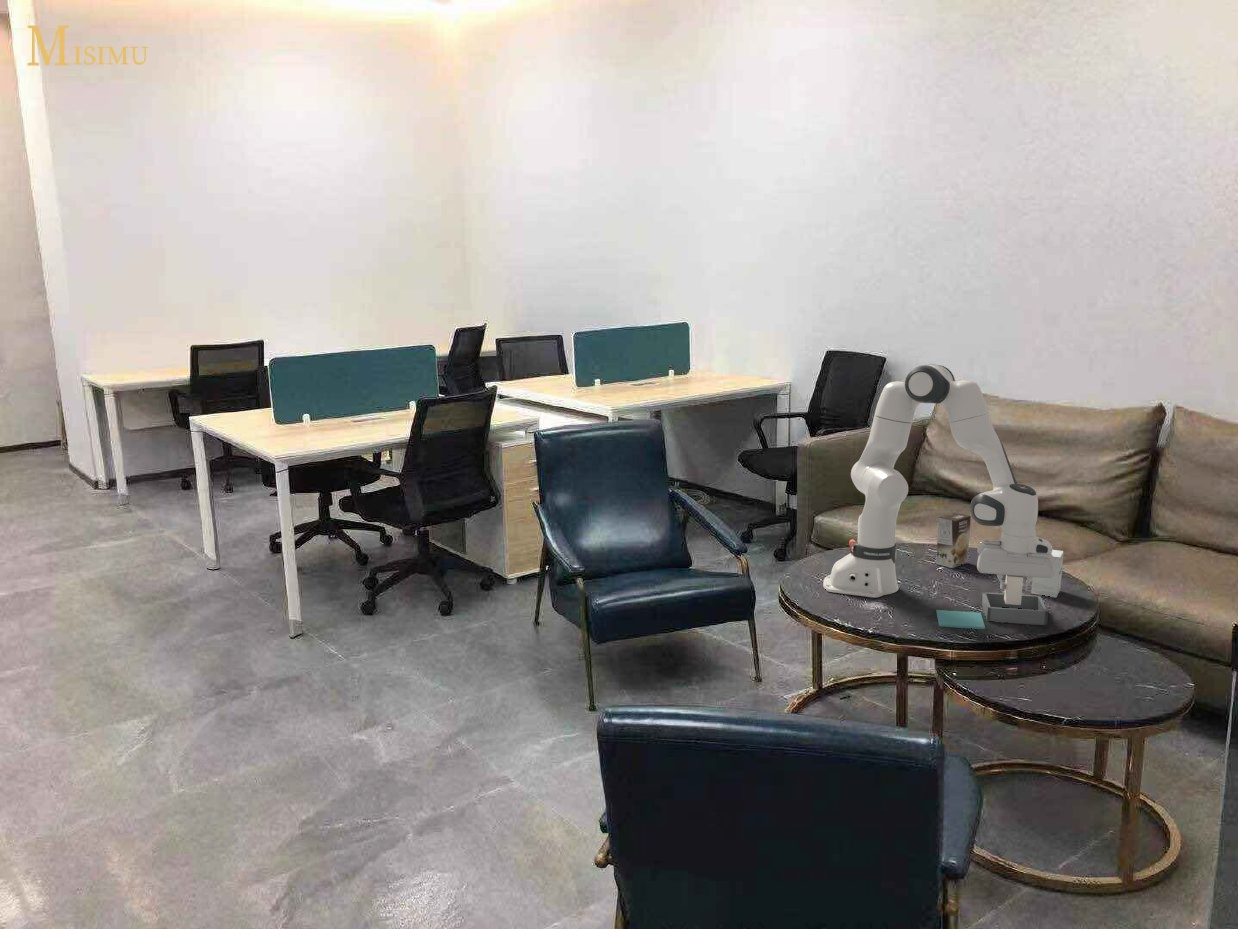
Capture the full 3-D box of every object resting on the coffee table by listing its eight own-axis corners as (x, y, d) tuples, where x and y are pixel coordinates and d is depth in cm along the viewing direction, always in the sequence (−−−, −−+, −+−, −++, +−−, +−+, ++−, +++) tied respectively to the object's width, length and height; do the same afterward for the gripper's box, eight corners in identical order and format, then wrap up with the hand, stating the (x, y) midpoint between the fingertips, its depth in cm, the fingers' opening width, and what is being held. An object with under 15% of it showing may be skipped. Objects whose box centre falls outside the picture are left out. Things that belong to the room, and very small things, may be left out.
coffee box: (952, 568, 320) (955, 521, 316) (935, 564, 324) (937, 517, 321) (968, 562, 325) (971, 515, 322) (951, 558, 330) (953, 511, 326)
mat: (939, 626, 273) (939, 624, 273) (936, 611, 284) (936, 610, 283) (985, 629, 270) (985, 627, 270) (980, 614, 281) (980, 612, 281)
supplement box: (1057, 598, 292) (1060, 557, 289) (1030, 594, 296) (1033, 553, 293) (1061, 590, 298) (1064, 550, 296) (1034, 586, 302) (1038, 547, 299)
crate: (987, 621, 276) (987, 607, 275) (981, 605, 288) (982, 592, 287) (1046, 625, 272) (1048, 611, 271) (1039, 608, 284) (1040, 595, 283)
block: (1005, 603, 277) (1008, 576, 276) (1003, 599, 281) (1006, 572, 279) (1020, 605, 276) (1023, 578, 275) (1018, 600, 280) (1021, 573, 278)
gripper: (979, 543, 274) (975, 590, 278) (1058, 548, 269) (1053, 596, 273) (977, 536, 280) (973, 583, 283) (1054, 542, 275) (1050, 589, 278)
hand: (1013, 589), depth 278 cm, fingers closed on block, 4 cm apart
